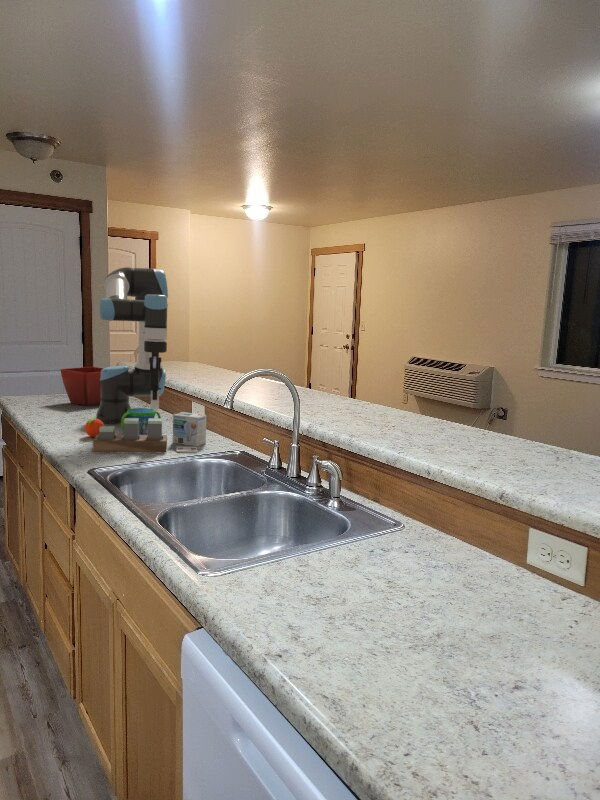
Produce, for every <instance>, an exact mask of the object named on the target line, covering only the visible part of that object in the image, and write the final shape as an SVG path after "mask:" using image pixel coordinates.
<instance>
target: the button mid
mask: <svg viewBox="0 0 600 800" xmlns="http://www.w3.org/2000/svg"><path fill="white" fill-rule="evenodd" d="M123 435H124V440H138V438H139V418H125V419H124V429H123Z"/></svg>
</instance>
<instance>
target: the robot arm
mask: <svg viewBox="0 0 600 800" xmlns="http://www.w3.org/2000/svg"><path fill="white" fill-rule="evenodd" d="M167 281H168V280H167V275H166V273H165V271H164V270H162V269H157V268H147V267H146V268H144V267H130V266H129V267H128V266H127V267H120V268H117V269H115V270H112V271H110V273H109V274H108V275H107V276H106V277H105V278H104V281H103V289H104V291H105V298H104V297H103V298H100V299H99V319H101V320H103V321H109V322H112V321H114V322H138V358H137V359H138V361H137V362H136V363H135V364H134V368H133V369H132V368H130V366H129V365H113V366H108V367H105V368H104V367H103V368H104V369H102V370H101V378H100V380H101V402H100V404H99V407H98V409H97V412H96V415H95V419H99V420H101V421H102V422H103V424H121V419H122V416H123V415H124V413H126V412H127V410H128V409H132V407H131V405H130V397H150V409H154V410H159V409H160V396H162V395H163V393H164V389H165V386H166V378H167V377H166V376H167V371H166V369H164V368H163V365H162V357H160V354H162V353H163V354H164V353H167V349H168V347H167V345H168V342H167V340H168V327H167V326H168V325H167V324H168V307H169V304H168V298H169V294H168V293H169V292H168V282H167ZM128 297H133V298H135V299H128ZM125 418H128V415H127V416H126V417H125Z"/></svg>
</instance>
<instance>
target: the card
mask: <svg viewBox="0 0 600 800" xmlns="http://www.w3.org/2000/svg"><path fill="white" fill-rule="evenodd" d="M177 452H180V453H181V454H182V453H183V454H184V453H186V454H187V453H189V454H193V453H195V454H197V453H198V446H176V453H177Z"/></svg>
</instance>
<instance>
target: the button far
mask: <svg viewBox="0 0 600 800" xmlns="http://www.w3.org/2000/svg"><path fill="white" fill-rule="evenodd" d="M162 435H163V418H161V419H158V418H155V417H154V418H149V419H148V440H162Z"/></svg>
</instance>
